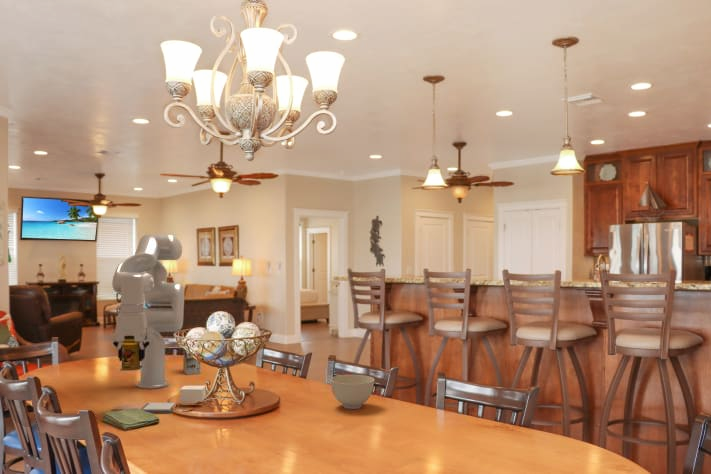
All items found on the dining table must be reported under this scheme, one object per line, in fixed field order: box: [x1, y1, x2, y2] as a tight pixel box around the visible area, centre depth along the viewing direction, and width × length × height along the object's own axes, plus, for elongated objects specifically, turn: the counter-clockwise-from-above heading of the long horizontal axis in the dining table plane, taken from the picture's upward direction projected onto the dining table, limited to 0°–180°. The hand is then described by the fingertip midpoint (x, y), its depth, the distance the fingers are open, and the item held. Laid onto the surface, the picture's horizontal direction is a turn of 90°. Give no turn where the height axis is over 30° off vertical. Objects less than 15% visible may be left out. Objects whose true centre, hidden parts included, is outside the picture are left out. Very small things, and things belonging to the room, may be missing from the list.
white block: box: [179, 385, 207, 404], centre depth 234 cm, size 6×8×6 cm
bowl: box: [330, 374, 375, 410], centre depth 232 cm, size 16×16×10 cm
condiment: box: [119, 336, 142, 372], centre depth 225 cm, size 7×8×12 cm
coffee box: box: [182, 349, 201, 375], centre depth 290 cm, size 9×6×16 cm
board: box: [110, 402, 178, 414], centre depth 225 cm, size 10×20×1 cm, turn 92°
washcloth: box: [101, 408, 161, 431], centre depth 210 cm, size 13×18×3 cm
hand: (131, 359), depth 225 cm, fingers closed on condiment, 6 cm apart
